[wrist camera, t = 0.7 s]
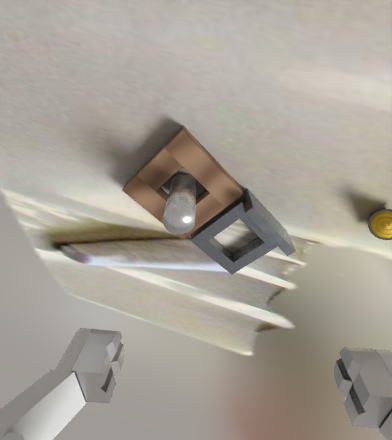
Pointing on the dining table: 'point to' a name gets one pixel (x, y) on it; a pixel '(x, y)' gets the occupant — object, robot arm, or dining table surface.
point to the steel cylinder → (180, 205)
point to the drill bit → (381, 224)
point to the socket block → (197, 166)
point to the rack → (256, 220)
